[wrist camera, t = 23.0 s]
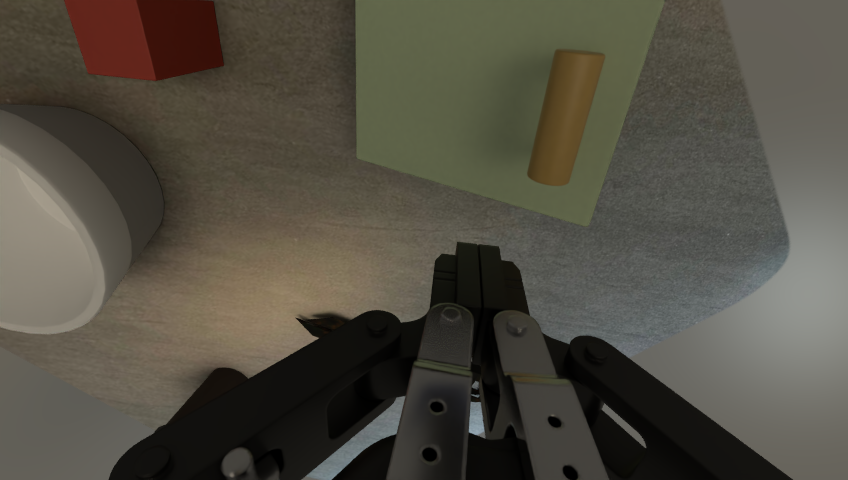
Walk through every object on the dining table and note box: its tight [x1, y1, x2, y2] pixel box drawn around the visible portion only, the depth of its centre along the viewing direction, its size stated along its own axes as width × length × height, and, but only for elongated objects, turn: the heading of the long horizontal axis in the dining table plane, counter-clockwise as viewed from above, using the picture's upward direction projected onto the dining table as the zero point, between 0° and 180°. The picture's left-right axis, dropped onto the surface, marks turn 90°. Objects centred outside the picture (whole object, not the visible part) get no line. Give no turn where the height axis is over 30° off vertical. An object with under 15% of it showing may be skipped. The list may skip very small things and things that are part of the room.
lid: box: [355, 0, 665, 227], centre depth 19 cm, size 15×12×5 cm
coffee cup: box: [155, 368, 248, 432], centre depth 47 cm, size 8×8×10 cm
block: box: [64, 0, 224, 81], centre depth 27 cm, size 4×4×8 cm
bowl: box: [0, 104, 164, 334], centre depth 33 cm, size 19×19×11 cm
